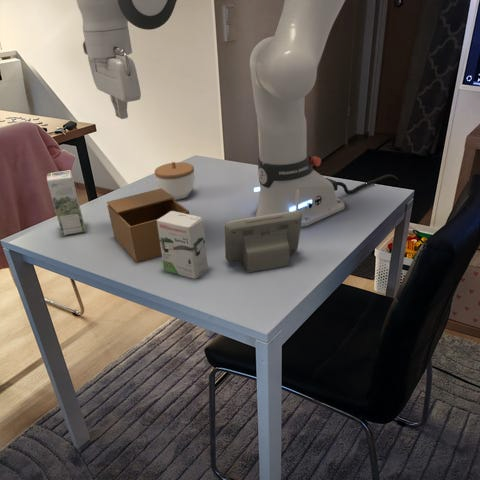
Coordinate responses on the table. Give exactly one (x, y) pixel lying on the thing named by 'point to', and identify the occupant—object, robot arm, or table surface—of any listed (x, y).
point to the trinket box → (176, 179)
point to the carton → (142, 228)
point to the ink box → (183, 244)
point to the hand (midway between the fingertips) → (122, 117)
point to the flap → (139, 200)
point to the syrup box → (66, 202)
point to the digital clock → (263, 240)
